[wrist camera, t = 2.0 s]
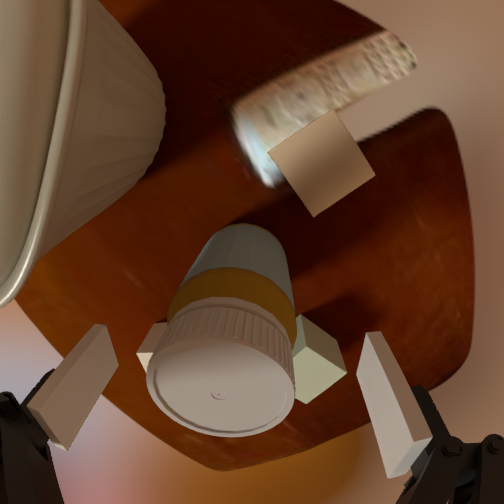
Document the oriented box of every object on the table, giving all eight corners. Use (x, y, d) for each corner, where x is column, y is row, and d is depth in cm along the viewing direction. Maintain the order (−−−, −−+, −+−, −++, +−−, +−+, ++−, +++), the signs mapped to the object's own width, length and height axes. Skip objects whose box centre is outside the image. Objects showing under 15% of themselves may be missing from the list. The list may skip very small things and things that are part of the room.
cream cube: (154, 323, 27) (136, 353, 23) (200, 318, 27) (188, 350, 22) (170, 360, 29) (156, 392, 24) (213, 358, 28) (205, 392, 24)
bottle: (279, 215, 23) (298, 315, 9) (290, 292, 25) (309, 436, 11) (195, 228, 24) (109, 332, 10) (213, 302, 26) (169, 440, 12)
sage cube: (265, 346, 28) (264, 381, 23) (300, 313, 26) (306, 346, 22) (301, 369, 28) (306, 403, 24) (336, 339, 27) (347, 372, 22)
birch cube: (267, 152, 22) (267, 152, 17) (318, 117, 21) (333, 109, 16) (303, 203, 23) (313, 217, 18) (353, 170, 22) (375, 175, 17)
